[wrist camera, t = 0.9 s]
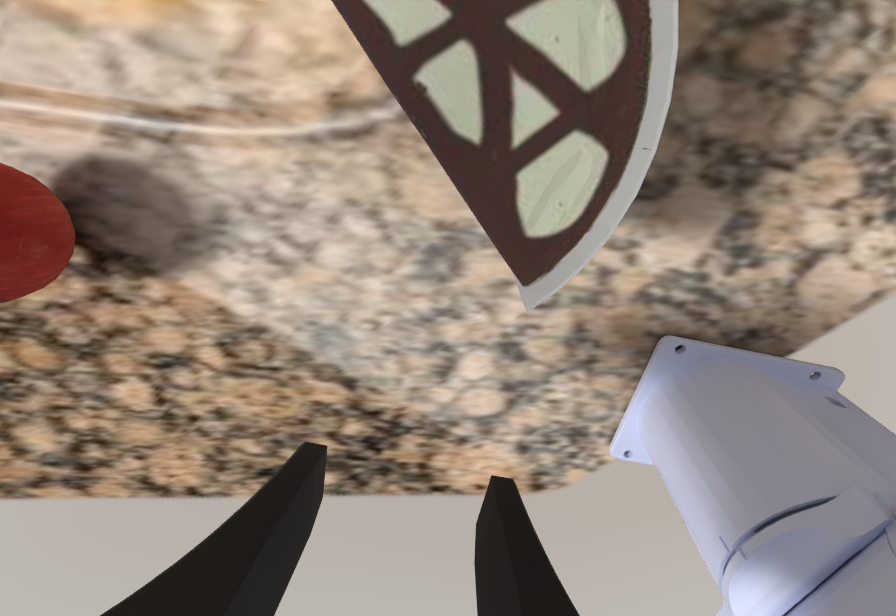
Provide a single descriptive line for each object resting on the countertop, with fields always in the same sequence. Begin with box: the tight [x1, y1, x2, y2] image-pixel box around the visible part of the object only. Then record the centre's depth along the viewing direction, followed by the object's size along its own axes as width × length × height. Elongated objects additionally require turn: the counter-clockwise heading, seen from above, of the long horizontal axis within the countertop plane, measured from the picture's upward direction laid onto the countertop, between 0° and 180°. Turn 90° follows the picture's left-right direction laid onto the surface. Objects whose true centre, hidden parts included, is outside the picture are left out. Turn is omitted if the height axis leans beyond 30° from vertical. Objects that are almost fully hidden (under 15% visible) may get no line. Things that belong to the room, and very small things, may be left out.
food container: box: [331, 0, 679, 312], centre depth 12 cm, size 12×6×10 cm, turn 35°
